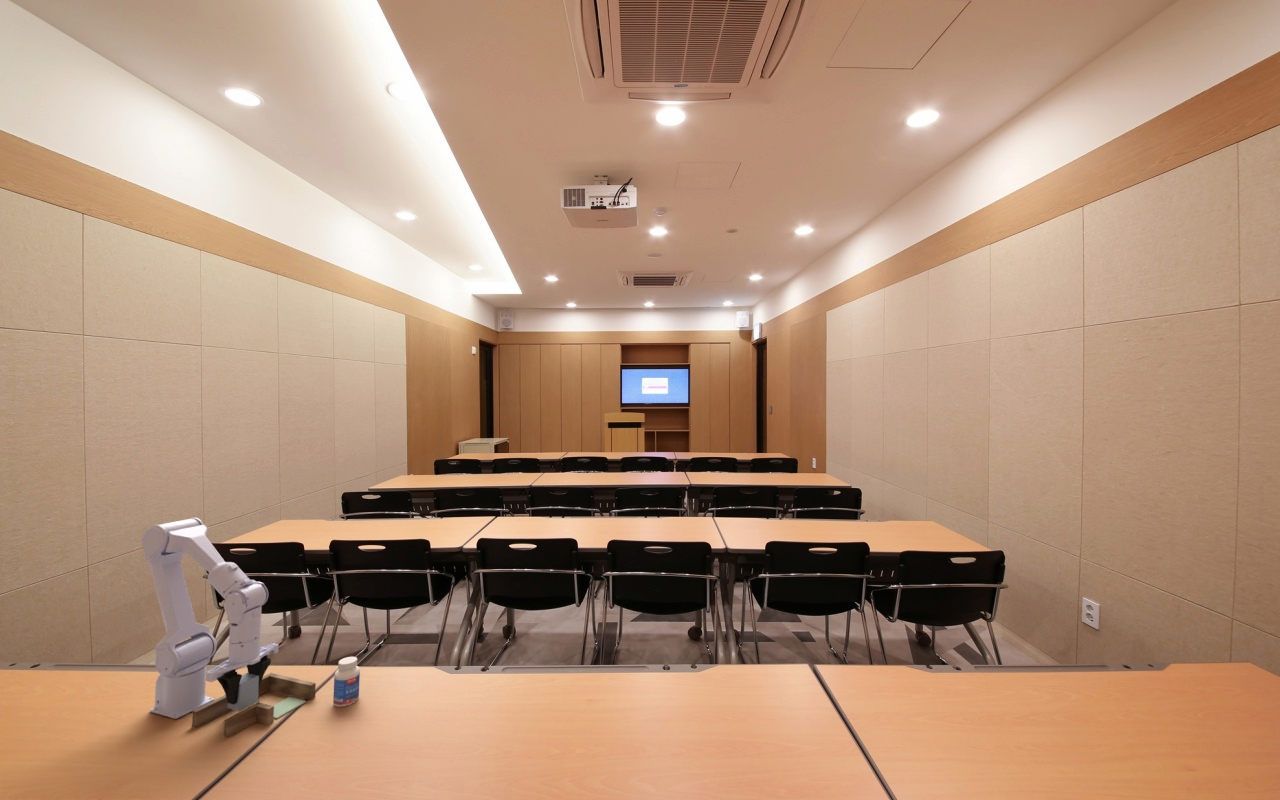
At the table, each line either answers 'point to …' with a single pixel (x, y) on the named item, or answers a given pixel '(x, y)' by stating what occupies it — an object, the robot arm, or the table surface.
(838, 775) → the table surface
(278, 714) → the pad
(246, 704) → the block
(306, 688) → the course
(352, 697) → the pill bottle
